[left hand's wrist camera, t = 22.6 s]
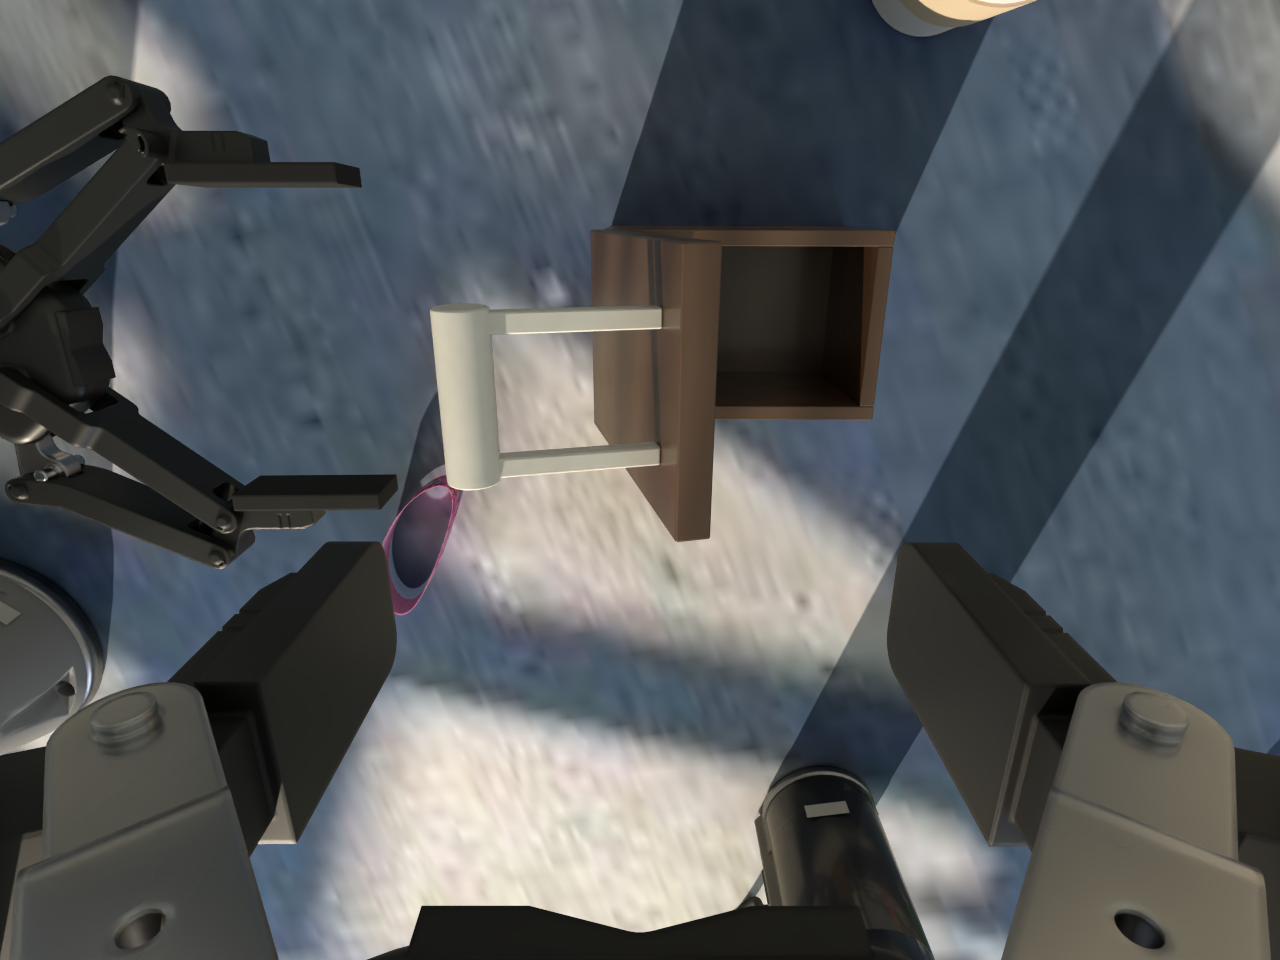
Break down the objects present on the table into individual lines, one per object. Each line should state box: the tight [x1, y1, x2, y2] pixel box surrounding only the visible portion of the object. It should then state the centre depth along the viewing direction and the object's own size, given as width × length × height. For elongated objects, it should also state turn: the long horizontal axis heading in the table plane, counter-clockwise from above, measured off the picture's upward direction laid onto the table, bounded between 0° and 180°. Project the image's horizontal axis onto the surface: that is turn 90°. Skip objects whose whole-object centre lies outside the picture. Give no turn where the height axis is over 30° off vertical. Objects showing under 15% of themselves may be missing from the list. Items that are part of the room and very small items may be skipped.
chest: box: [604, 226, 895, 420], centre depth 41 cm, size 14×10×10 cm
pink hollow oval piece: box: [382, 475, 460, 615], centre depth 50 cm, size 11×4×2 cm, turn 157°
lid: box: [430, 230, 722, 542], centre depth 29 cm, size 15×10×9 cm
